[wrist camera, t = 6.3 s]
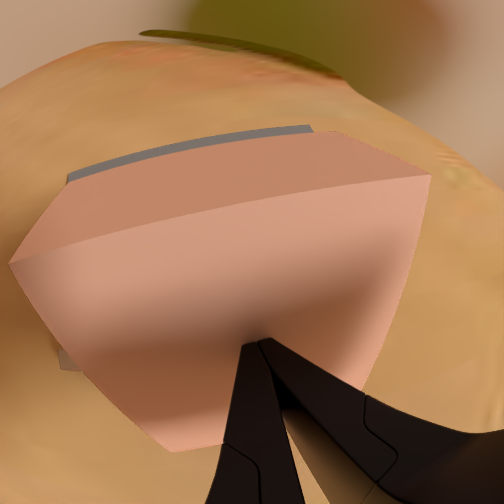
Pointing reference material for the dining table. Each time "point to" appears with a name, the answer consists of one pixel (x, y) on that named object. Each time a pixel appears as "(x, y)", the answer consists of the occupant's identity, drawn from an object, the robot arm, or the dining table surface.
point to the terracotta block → (223, 269)
